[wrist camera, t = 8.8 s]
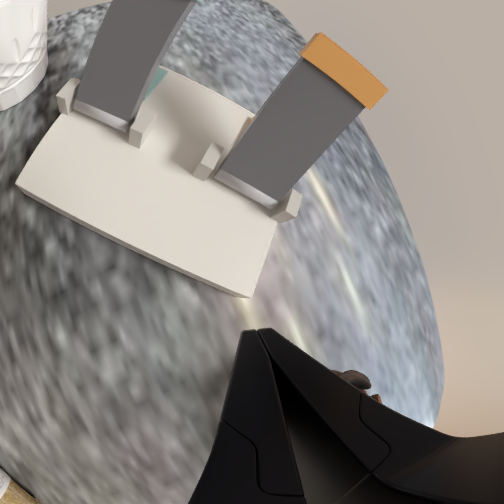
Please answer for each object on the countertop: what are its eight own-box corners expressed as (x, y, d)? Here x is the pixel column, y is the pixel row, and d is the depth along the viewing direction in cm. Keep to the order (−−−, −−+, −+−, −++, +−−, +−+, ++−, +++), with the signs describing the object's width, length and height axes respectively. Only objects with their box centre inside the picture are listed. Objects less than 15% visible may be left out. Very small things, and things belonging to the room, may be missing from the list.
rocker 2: (272, 215, 17) (388, 90, 10) (209, 180, 15) (321, 32, 9) (272, 202, 18) (379, 84, 11) (213, 169, 16) (316, 33, 10)
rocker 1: (125, 138, 13) (213, -26, 7) (68, 112, 12) (135, -48, 5) (135, 128, 14) (220, -22, 7) (81, 104, 13) (147, -44, 6)
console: (240, 298, 18) (269, 300, 15) (22, 192, 12) (2, 170, 9) (290, 157, 21) (319, 137, 18) (117, 66, 16) (122, 32, 12)
